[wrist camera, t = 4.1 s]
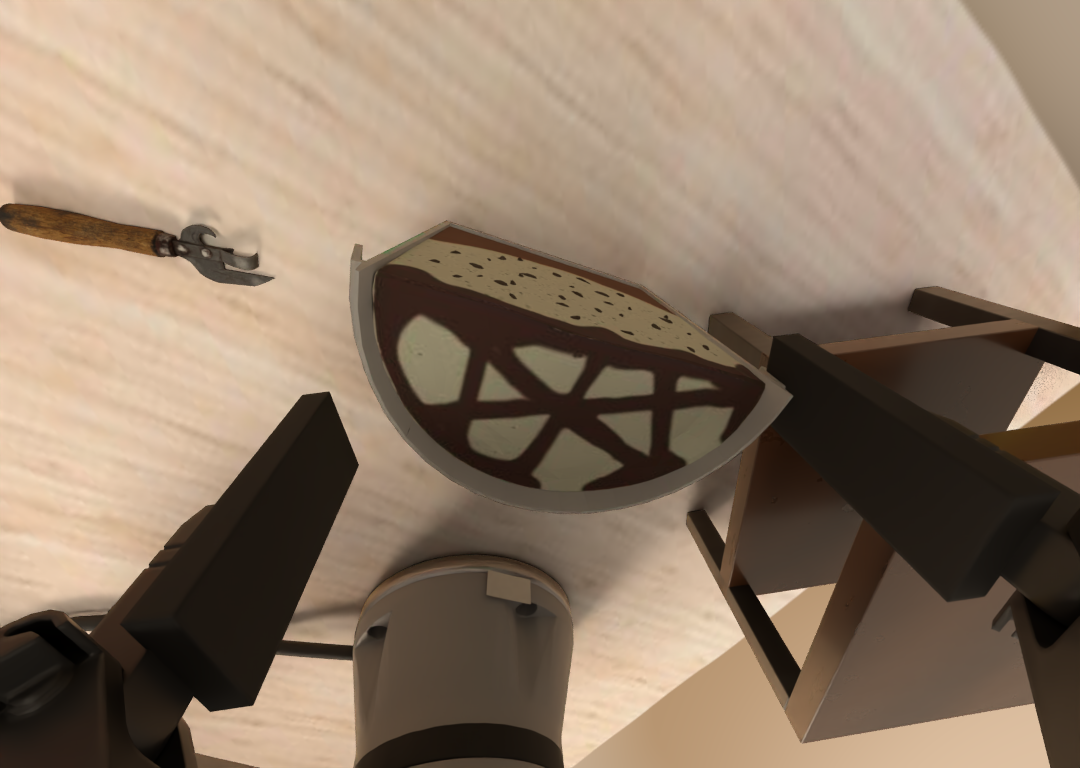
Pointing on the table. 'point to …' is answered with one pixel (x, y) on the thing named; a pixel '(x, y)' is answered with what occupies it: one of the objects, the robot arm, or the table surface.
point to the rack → (863, 555)
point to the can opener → (132, 240)
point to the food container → (548, 375)
